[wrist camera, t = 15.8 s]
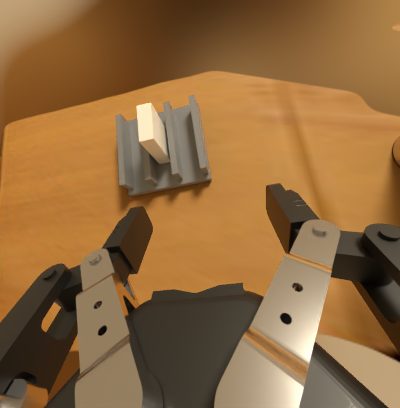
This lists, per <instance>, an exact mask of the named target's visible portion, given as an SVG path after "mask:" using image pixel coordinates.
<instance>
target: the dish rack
mask: <svg viewBox="0 0 400 408" xmlns="http://www.w3.org/2000/svg"><path fill="white" fill-rule="evenodd" d="M189 103H190V105H188V106H184V107H180V108H176V109H173V110H172V107H171V105H170V103H169V101H168V102H165V103H163V104H164V112H161V113H157V114H158V116H159V118H160V119H161V121H162V123H163V125H164V126H165V128H166V130H167V137H168V145H169V153H170V161H171V162H168V163H163V164H159V163H158V162H157V161H156V160H155V159H154V157H153V156H152V155H151V154H150V153H149V152H148V151H147V150H146V149H145V148H144V147H143V146H142V145H141V143H140V142H139V134H138V119H134V120H130V121H126V119H125V118H124V117H123V116H122V115H121V114H119V115H116V131H117V149H118V168H119V185H120V186H122V187H124V188H126V189H128V195H130V196H137V195H142V194H147V193H152V192H157V191H162V190H167V189H172V188H177V187H182V186H188V185H193V184H198V183H203V182H208V181H212V180H211V174H210V168H209V162H208V157H207V151H206V145H205V139H204V134H203V128H202V122H201V116H200V111H199V106H198V103H196V100H195V96H194V95H191V96H189Z"/></svg>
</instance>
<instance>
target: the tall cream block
mask: <svg viewBox="0 0 400 408" xmlns="http://www.w3.org/2000/svg"><path fill="white" fill-rule="evenodd" d="M137 118H138V134H139V142H140V143H141V145H142V146H143V147H144V148H145V149H146V150H147V151H148V152H149V153H150V154H151V155H152V156H153V157H154V159H155V160H156V161H157V162H158V163H159V164H163V163H168V162H171V161H170V153H169V145H168V137H167V130H166V128H165V126H164V125H163V123H162V121H161V119H160V118H159V116H158V114H157V112H156V111H155V109H154V107H153V105H152V104H151V103H147V104H143V105H139V106H137Z"/></svg>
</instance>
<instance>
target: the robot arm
mask: <svg viewBox="0 0 400 408" xmlns="http://www.w3.org/2000/svg"><path fill="white" fill-rule="evenodd" d="M393 154H394V158H395V160H396V162H397V163H398V165H399V166H400V137H399V138H398V139H397V140H396V142H395V144H394V146H393ZM266 210H267V214H268V217H269V219H270V221H271V223H272V225H273V227H274V229H275V232H276V234H277V236H278V238H279V240H280V242H281V244H282V246H283V248H284V251H285V253H286V254H285V255H284V257H283V259H282V261H281V263H280V265H279V268H278V270H277V272H276V274H275V276H274V278H273V280H272V282H271V284H270V286H269V288H268V290H267V292H266V295H265V297H263V296H261V295H259V294H256V293H253V292H250V291H245V290H244V289H243V283H237V284H226V285H218V286H216V287H213V288H210V289H207V290H204V291H201V292H199V293H191V292H185V291H179V290H163V291H153V294H152V298H151V300H148V301H146V302H144V303H143V304H141V305H139V303H138V301H137V298H136V296H135V293H134V291H133V288H132V286H131V283H130V281H129V279H128V276H129V274H137V273H138V270H139V268H140V265H141V262H142V259H143V257H144V254H145V251H146V249H147V246H148V243H149V240H150V238H151V235H152V232H153V227H152V223H151V221H150V219H149V217H148V215H147V213H146V210H145V208H144V207H143V206H140V207H134V208H131V209H130V210H129V211H128V213H127V215H126V216H125V217H123V218H122V219H121V220H120V221H119V222H118V224H117V225H116V227H115V229H114V230H113V232H112V233H111V235H110V236H109V238H108V239H107V241H106V242H105V244H104V246H103V247H102V249H98V250H95V251H93V252H92V253H90V254H89V255H87V256H86V257H85V258H84V259H83V261H82V262H81V265H78V266H76V267H73V268H71V269H68V268H67V267H66V266H65V265H64V264H57V265H54V266H52V267H50V268H48V269H47V270H45V271H44V272H43V273H42V274H41V275H40V276H39V277H38V278H37V279H36V280H35V281H34V283H33V284H32V285H31V286H30V288H29V289H28V290H27V291H26V292H25V294H24V295H23V296H22V297H21V298H20V300H19V301H18V302H17V303H16V305H15V306H14V307H13V308H12V309H11V311H10V312H9V313H8V314H7V315H6V317H5V318H4V319H3V320H2V322H1V323H0V408H388V407H387V406H386V405H384V403H383V402H381V401H380V400H379V399H378V398H377V397H376V396H375V395H374V394H373V393H371V392H370V391H369V390H368V389H367V388H366V387H365V386H364V385H363V384H362V383H360V382H359V381H358V380H357V379H356V378H355V377H354V376H353V375H352V374H351V373H349V372H348V371H347V370H346V369H345V368H344V367H343V366H342V365H341V364H339V363H338V362H337V361H336V360H335V359H334V358H333V357H332V356H331V355H329V354H328V353H327V352H326V351H325V350H324V349H323V348H322V347H321V346H320V345H318V344H317V343H316V342H315V338H316V334H317V330H318V326H319V321H320V317H321V313H322V309H323V305H324V301H325V297H326V293H327V289H328V285H329V281H330V277H333V278H339V279H345V280H350V281H352V282H353V284H354V285H355V287H356V288H357V290H358V292H359V293H360V295H361V296H362V298H363V299H364V301H365V302H366V304H367V305H368V307H369V308H370V310H371V311H372V313H373V314H374V316H375V317H376V319H377V320H378V322H379V323H380V325H381V326H382V328H383V329H384V331H385V332H386V334H387V335H388V337H389V338H390V340H391V341H392V343H393V344H394V346H395V347H396V349H397V350H398V352H399V353H400V228H399V227H396V226H392V225H388V224H372V225H369V226H367V227H366V228H365V230H364V233H360V232H348V231H340V230H339V229H338V228H337V227H336V226H335V225H334V224H332V223H330V222H328V221H324V220H320V219H319V218H318V217H317V216H316V214H315V213H314V212H313V211H312V210H311V208H310V207H309V206H308V205H306V203H305V201H304V200H302V198H301V197H300V195H299V194H298V193H296V192H294V191H292V190H285V189H284V188H283V186H282V185H281V184H280V183H278V184H272V185H267V186H266ZM54 302H55V303H57V304H58V305H59V306H60V307H61V309H60V311H59V312H58V314H57V315H56V317H55V319H54V320H53V322H52V324H51V325H50V327H49V329H48V330H47V332H44V331H43V330H42V328H41V324H42V320H43V318H44V317H45V315H46V314H47V312H48V311H49V309H50V308H51V306H52V305H53V303H54ZM77 334H78V342H79V357H80V368H79V370H78V371H77V372H76V373H75V374H74V375H73V376H72V377H71V378H70V379H69V380H68V381H67V383H66V384H65V385H64V386H63V387H62V388H61V389H60V390H59V391H58V393H56V395H55V396H54V397H53V398H52V399H51V400H50V401H49V402H48V403H47V399H48V395H49V393H50V391H51V388H52V387H53V384H54V382H55V380H56V378H57V376H58V374H59V372H60V370H61V368H62V365H63V363H64V361H65V359H66V356H67V355H68V353H69V351H70V349H71V346H72V344H73V342H74V340H75V338H76V336H77Z"/></svg>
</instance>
